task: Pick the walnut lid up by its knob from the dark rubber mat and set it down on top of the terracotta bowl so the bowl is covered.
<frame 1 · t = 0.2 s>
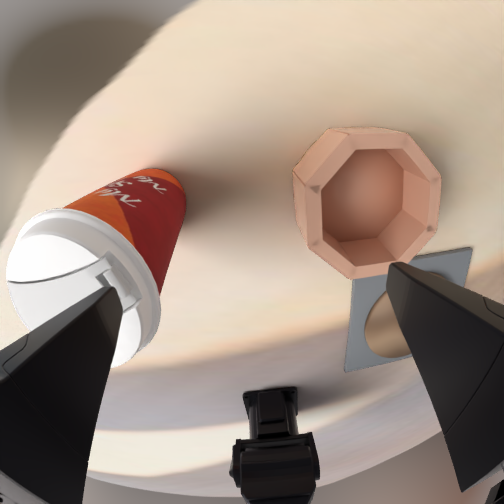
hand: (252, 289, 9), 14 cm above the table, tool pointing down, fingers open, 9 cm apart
paper cup: (152, 202, 23), on the table
lid: (410, 316, 28), point 1 cm above the table, touching mat
bowl: (354, 189, 22), on the table
mat: (408, 312, 28), on the table
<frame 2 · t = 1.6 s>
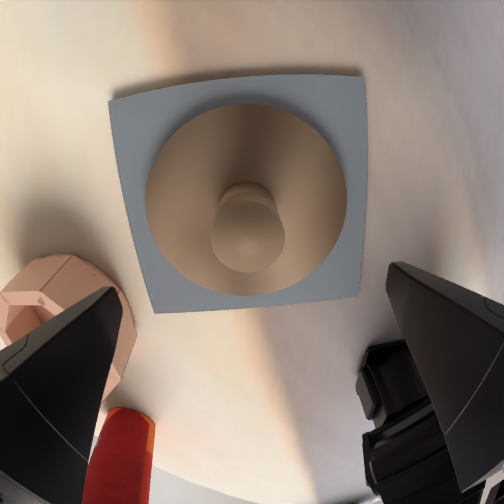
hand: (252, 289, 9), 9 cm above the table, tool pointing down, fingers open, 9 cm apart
paper cup: (132, 419, 28), on the table
lid: (246, 204, 16), point 1 cm above the table, touching mat
bowl: (77, 310, 20), on the table
mat: (246, 201, 17), on the table
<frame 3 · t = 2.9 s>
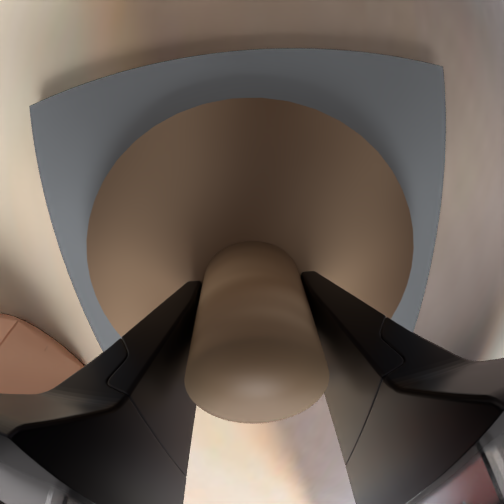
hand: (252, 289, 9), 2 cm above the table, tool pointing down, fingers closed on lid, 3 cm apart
lid: (251, 272, 10), point 1 cm above the table, touching gripper, mat
bowl: (39, 376, 14), on the table
mat: (250, 263, 11), on the table
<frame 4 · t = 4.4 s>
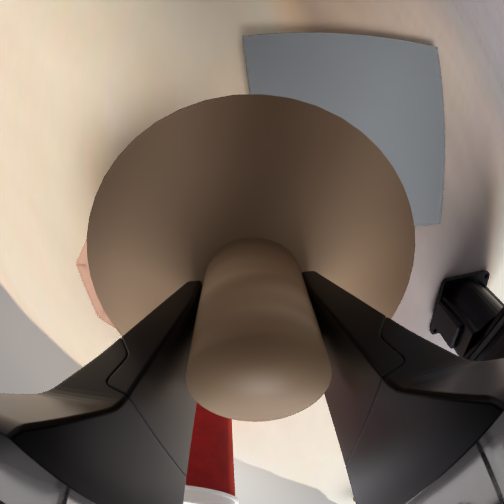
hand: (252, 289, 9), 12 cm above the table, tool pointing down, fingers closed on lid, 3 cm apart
paper cup: (203, 387, 29), on the table
lid: (252, 269, 10), point 11 cm above the table, touching gripper
bowl: (171, 249, 22), on the table
mat: (359, 132, 18), on the table
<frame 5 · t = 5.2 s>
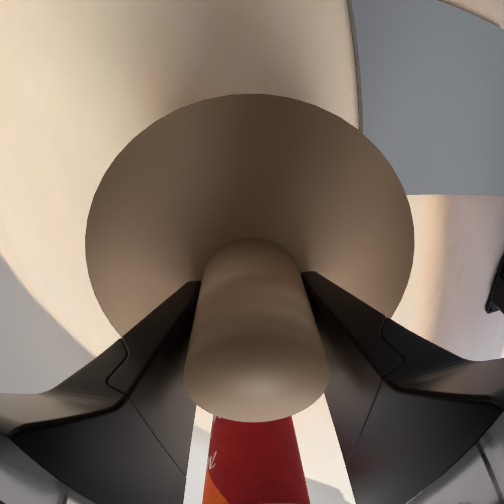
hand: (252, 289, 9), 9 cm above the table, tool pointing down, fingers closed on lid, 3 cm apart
paper cup: (251, 379, 25), on the table
lid: (251, 269, 10), point 8 cm above the table, touching gripper
mat: (448, 93, 14), on the table
when the fingers open (8 cm above the table, at t = 5.7 s): lid drops 2 cm, resting on bowl.
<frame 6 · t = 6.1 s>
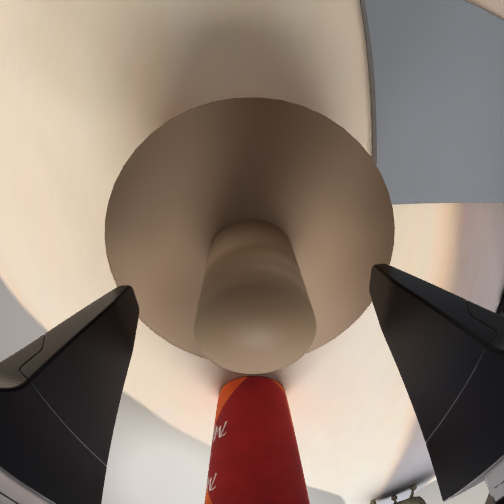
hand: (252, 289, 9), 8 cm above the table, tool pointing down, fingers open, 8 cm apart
paper cup: (252, 394, 23), on the table
lid: (250, 248, 11), point 5 cm above the table, touching bowl
tabletop clock: (393, 494, 49), on the table
mat: (465, 94, 13), on the table
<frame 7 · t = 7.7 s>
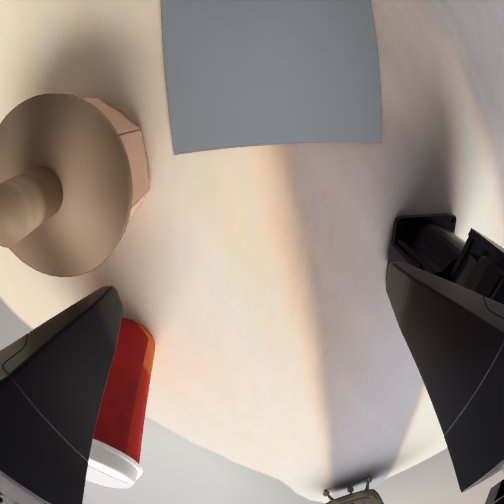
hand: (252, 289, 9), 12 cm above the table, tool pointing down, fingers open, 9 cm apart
paper cup: (128, 339, 26), on the table
lid: (49, 187, 14), point 5 cm above the table, touching bowl
bowl: (85, 170, 18), on the table
tabletop clock: (348, 485, 53), on the table
mat: (274, 42, 15), on the table
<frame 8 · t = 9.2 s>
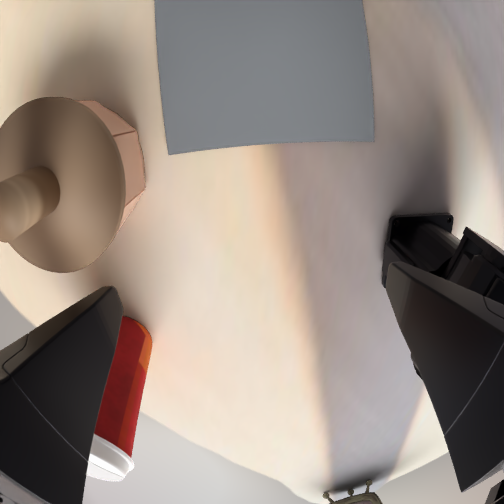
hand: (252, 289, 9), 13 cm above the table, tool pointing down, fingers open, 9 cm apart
paper cup: (126, 336, 26), on the table
lid: (48, 186, 15), point 5 cm above the table, touching bowl
bowl: (84, 170, 19), on the table
tabletop clock: (348, 487, 52), on the table
mat: (265, 44, 16), on the table
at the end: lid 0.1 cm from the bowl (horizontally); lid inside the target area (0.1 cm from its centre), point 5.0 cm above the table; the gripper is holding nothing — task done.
